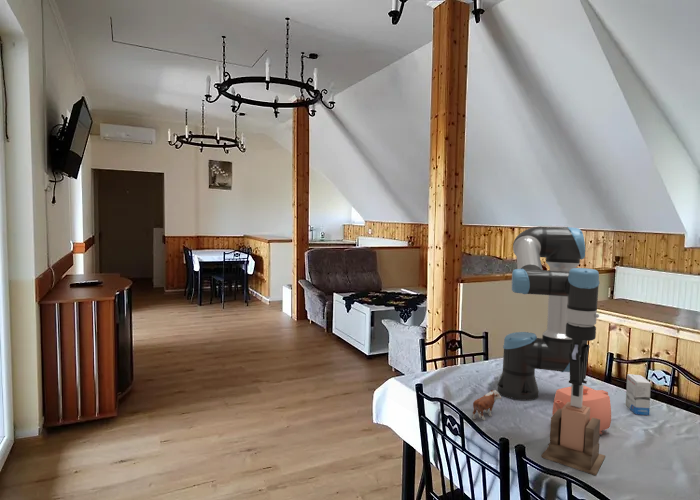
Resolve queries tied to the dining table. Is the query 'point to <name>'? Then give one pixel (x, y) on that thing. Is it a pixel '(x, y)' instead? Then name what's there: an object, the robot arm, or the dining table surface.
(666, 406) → the dining table surface
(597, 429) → the wooden slotted stand
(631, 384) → the ink box
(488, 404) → the bull figurine
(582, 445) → the block
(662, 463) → the dining table surface
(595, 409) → the teapot
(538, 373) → the dining table surface
